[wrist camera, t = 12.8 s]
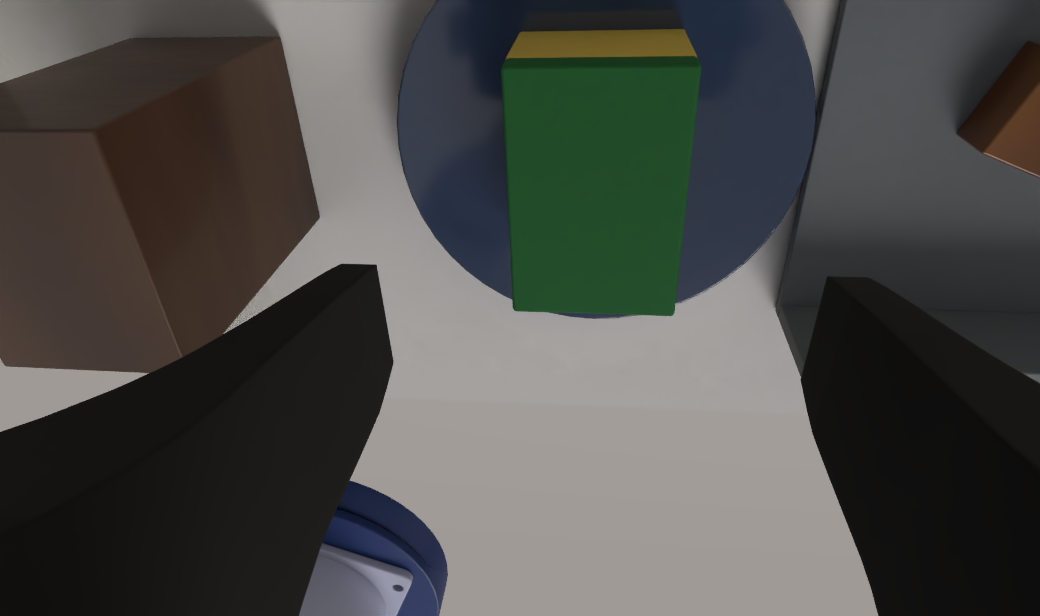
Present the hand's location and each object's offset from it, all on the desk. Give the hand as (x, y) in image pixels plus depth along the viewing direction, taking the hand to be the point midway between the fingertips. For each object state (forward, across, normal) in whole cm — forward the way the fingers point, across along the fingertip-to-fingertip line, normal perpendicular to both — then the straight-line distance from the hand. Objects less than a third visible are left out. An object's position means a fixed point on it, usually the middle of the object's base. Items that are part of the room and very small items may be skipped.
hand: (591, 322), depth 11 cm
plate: (+9, 0, 0) cm, 9 cm away
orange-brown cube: (+9, -11, -1) cm, 14 cm away
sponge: (+8, 0, 0) cm, 8 cm away
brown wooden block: (+9, +11, 0) cm, 14 cm away
